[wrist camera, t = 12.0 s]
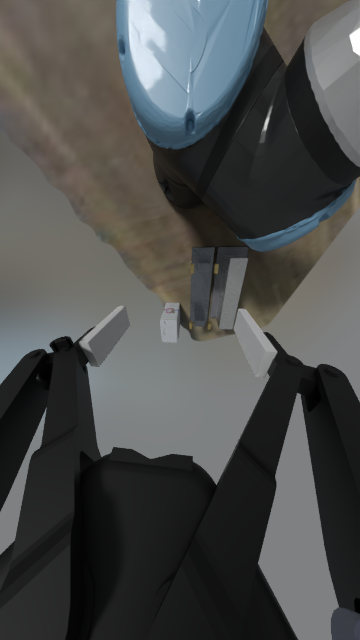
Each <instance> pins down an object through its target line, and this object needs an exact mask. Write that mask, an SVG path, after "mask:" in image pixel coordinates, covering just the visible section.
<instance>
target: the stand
mask: <svg viewBox="0 0 360 640" xmlns="http://www.w3.org/2000/svg"><path fill="white" fill-rule="evenodd" d="M214 249H215V247H192V263H191V274H192V275H191V311H190V321H189V329H192V322H195V326H200V327H205V323H207V316H208V307H209V297H210V287H211V278H212V268H213V259H214ZM218 267H219V264H218V263H214V271H213V272H214V274H218ZM207 327H208V330H211V321H208V326H207Z"/></svg>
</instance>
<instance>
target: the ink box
mask: <svg viewBox="0 0 360 640" xmlns="http://www.w3.org/2000/svg"><path fill="white" fill-rule="evenodd" d="M160 325H161V335H162V342H163V343H177V342H178V336H179V326H180V303H166V306H165V308H164V311H163V314H162V316H161V319H160Z"/></svg>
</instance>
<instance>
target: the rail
mask: <svg viewBox="0 0 360 640" xmlns="http://www.w3.org/2000/svg"><path fill="white" fill-rule="evenodd" d="M247 262H248V258H246V257H243V256H240V255H225V256H224V263H223V270H222V277H221V284H220V291H219V298H218V305H217V313H216V320H217V324H218V327H219V329H232V328H233V324H234V319H235V315H236V311H237V306H238V302H239V297H240V293H241V288H242V284H243V280H244V275H245V271H246V266H247Z"/></svg>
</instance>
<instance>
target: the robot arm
mask: <svg viewBox="0 0 360 640" xmlns="http://www.w3.org/2000/svg"><path fill="white" fill-rule="evenodd" d="M267 3H268V0H117V2H116V27H117V42H118V50H119V58H120V63H121V68H122V73H123V78H124V82H125V85H126V88H127V92H128V95H129V98H130V101H131V104H132V108H133V111H134V113H135V117H136V119H137V120H138V124H139V126H140V128H141V129H142V130H143V132H144V134H145V136H146V138H147V140H148V142H149V144H150V146H151V148H152V150H153V161H154V169H155V173H156V177H157V180H158V183H159V185H160V187H161V189H162V190H163V192H164V194H165V195H166V197H167V198H168V199H169V200H170V201H171V202H172V203H174V204H175V205H177V206H179V207H182V208H195V207H198V206H200V205H202V204H204V203H205V204H206V205H207V206H208V207H209V208H210V209H211V210H212V211H213V212H214V213H215V214H216V215H217V216H218V217H219V218H220V219H221V220H222V221H223V222H224V223H225V224H226V225H227V226H228V227H229V228H230V229H231V230H232V231H233V232H234V233H235V235H236V237H237V238H238V239H239V240H241V241H243V242H244V243H245V244H246V245H248V246H249V247H250V248H251V249H253V250H256V251H260V252H264V251H271V250H274V249H278V248H280V247H283V246H285V245H288V244H290V243H292V242H294V241H296V240H297V239H299V238H301V237H303V236H304V235H306V234H308V233H309V232H311V231H312V230H314V229H315V228H317V227H318V226H319V222H321V221H323V220H325V219H328V218H330V217H331V216H332V215H333V214H334V213H336V212H337V211H338V210H339V209H340V208H341V207H342V206H343V204H344V203H345V202H346V201H347V199H348V198H349V197H350V196H351V194H352V192H353V190H354V187H355V183H356V179H357V178H358V177H360V0H349V1H348V2H346V3H344V4H343V5H341V6H340V7H338V8H336V9H335V10H333V11H332V12H330V13H328V14H327V15H325V16H323V17H322V18H320V19H319V20H317V21H316V22H314V23H313V24H312V26H311V28H310V29H309V31H308V32H307V34H306V36H305V38H304V39H303V41H302V43H301V45H300V46H299V48H298V50H297V51H296V53H295V55H294V56H293V58H292V60H291V61H290V63H289V65H288V66H287V65H286V64H285V62H284V60H283V59H282V57H281V55H280V54H279V52H278V50H277V49H276V47H275V45H274V43H273V42H272V40H271V38H270V37H269V35H268V33H267V31H266V30H265V28H264V26H263V25H264V21H265V17H266V11H267ZM129 326H130V323H129V319H128V315H127V311H126V307H125V306H118V307H117V308H116V309H115V310H114V311H113V312H112V313H111V314H109V315H108V316H107V317H106V318H105V319H104V320H103V321H102V322H100V323H99V324H98V325H97V326H95V327H93V328H91V329H90V330H88V331H87V332H86V333H85V334H84V335H83V336H82V337H80V338H79V339H78V340H77V341H76V342H75V343H73V341H72V340H71V338H70V337H68V336H65V337H60V338H58V339H56V340H54V341H52V342H51V343H50V347H51V348H52V350H53V351H54V352H52V353H47V352H46V351H45V350H44V349H38V350H34V351H32V352H30V353H28V354H26V355H25V356H24V357H23V358H22V359H21V360H20V362H19V363H18V364H17V365H16V366H15V368H14V369H13V370H12V371H11V373H10V374H9V375H8V376H7V377H6V379H5V380H4V381H3V382H2V383H1V385H0V511H1V509H2V507H3V505H4V503H5V501H6V498H7V496H8V494H9V492H10V489H11V487H12V485H13V483H14V480H15V478H16V476H17V473H18V471H19V469H20V467H21V464H22V462H23V460H24V457H25V455H26V453H27V451H28V448H29V446H30V443H31V441H32V439H33V436H34V435H35V432H36V430H37V428H38V425H39V423H40V421H41V418H42V416H43V414H44V412H45V409H46V407H47V410H46V417H45V424H44V431H43V437H42V444H41V447H40V449H38V450H36V451H35V452H34V453H33V455H32V456H31V460H30V463H29V469H28V474H27V479H26V485H25V490H24V495H23V501H22V506H21V511H20V517H19V522H18V527H17V533H16V538H15V541H14V542H13V543H12V544H11V545H10V546H9V547H8V548H7V549H6V550H5V551H4V552H3V553H2V554H1V555H0V640H298V639H297V637H296V635H295V633H294V631H293V629H292V627H291V626H290V623H289V622H288V620H287V618H286V616H285V614H284V612H283V610H282V608H281V606H280V605H279V603H278V601H277V599H276V597H275V595H274V593H273V591H272V589H271V588H270V586H269V584H268V582H267V580H266V578H265V576H264V574H263V573H262V571H261V569H260V567H259V565H258V561H259V557H260V553H261V549H262V545H263V541H264V537H265V532H266V528H267V524H268V520H269V516H270V512H271V508H272V504H273V500H274V496H275V491H276V479H275V474H276V470H277V466H278V462H279V458H280V454H281V451H282V447H283V443H284V440H285V436H286V432H287V428H288V425H289V421H290V417H291V414H292V410H293V406H294V402H295V399H296V395H297V393H299V394H301V399H302V406H303V412H304V419H305V425H306V431H307V438H308V444H309V451H310V457H311V463H312V470H313V475H314V482H315V488H316V495H317V501H318V508H319V514H320V520H321V527H322V533H323V539H324V546H325V551H326V556H327V561H328V566H329V571H330V574H331V578H332V582H333V586H334V590H335V594H336V598H337V601H338V604H339V608H337V609H336V610H334V612H333V615H332V618H331V634H332V640H360V402H359V400H358V398H357V396H356V394H355V392H354V390H353V388H352V386H351V384H350V383H349V380H348V379H347V377H346V375H345V374H344V373H343V372H342V371H340V370H339V369H337V368H335V367H333V366H330V365H327V364H320V365H318V367H317V368H314V367H310V366H306V365H303V363H302V362H301V361H300V360H299V359H297V358H295V357H293V356H290V355H288V354H287V353H286V352H285V350H284V349H283V348H282V347H281V345H280V344H279V343H278V342H277V341H276V339H275V338H274V337H273V336H272V335H271V334H269V333H268V332H262V331H261V329H260V328H259V326H258V325H257V324H256V322H255V321H254V320H253V318H252V317H251V316H250V314H249V313H248V312H247V310H246V309H238V312H237V317H236V321H235V325H234V331H235V333H236V335H237V337H238V340H239V342H240V344H241V347H242V349H243V351H244V353H245V356H246V358H247V360H248V362H249V365H250V367H251V369H252V371H253V374H254V376H255V377H265V376H266V374H267V372H268V374H269V376H270V378H269V380H268V382H267V384H266V386H265V388H264V390H263V392H262V394H261V396H260V399H259V400H258V402H257V404H256V406H255V409H254V410H253V413H252V415H251V417H250V419H249V421H248V423H247V425H246V427H245V429H244V431H243V433H242V435H241V437H240V439H239V441H238V443H237V445H236V447H235V449H234V451H233V454H232V456H231V457H230V459H229V461H228V464H227V465H226V467H225V470H224V471H223V473H222V475H221V477H220V479H219V482H218V483H217V485H216V484H215V482H214V481H213V479H212V478H211V477H210V475H209V474H208V473H207V472H206V471H205V470H204V469H203V468H202V467H201V466H199V465H198V464H196V463H194V462H193V456H186V455H177V454H170V455H166V456H162V457H158V458H154V459H149V458H147V457H145V456H143V455H142V454H140V453H138V452H136V451H134V450H133V449H125V448H117V447H113V449H112V452H111V453H110V454H108V455H105V456H103V457H101V455H100V452H99V450H98V447H97V440H96V432H95V425H94V417H93V409H92V401H91V393H90V386H89V378H88V370H87V366H86V364H87V363H88V362H89V363H90V365H91V366H96V367H99V366H100V365H101V364H102V362H103V361H104V360H105V358H106V357H107V355H108V354H109V353H110V352H111V350H112V349H113V348H114V346H115V345H116V344H117V342H118V341H119V340H120V338H121V336H122V335H123V334H124V333H125V331H126V330H127V329H128V327H129Z"/></svg>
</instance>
